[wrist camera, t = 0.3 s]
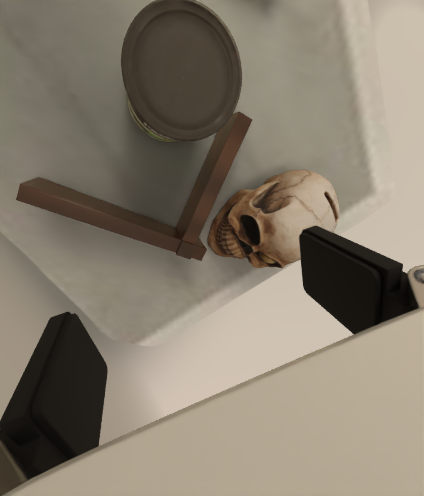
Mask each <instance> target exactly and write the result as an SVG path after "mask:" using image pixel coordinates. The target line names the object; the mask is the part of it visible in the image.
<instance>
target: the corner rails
mask: <svg viewBox="0 0 424 496" xmlns="http://www.w3.org/2000/svg"><path fill="white" fill-rule="evenodd" d="M251 122H252V119H250V118H249V117H247V116H245V115H244V114H242V113H241V112H237V113H234V114H232V115H231V117H230V119H229V120H228V121H227V123H226V124H225V125H224V126H223V127H222V128H221V129H220V130H218V132H217V134H216V137H215V139H214V141H213V143H212V146H211V148H210V150H209V153H208V155H207V157H206V160H205V162H204V164H203V167H202V169H201V171H200V174H199V176H198V178H197V180H196V183H195V185H194V187H193V190H192V192H191V194H190V197H189V199H188V201H187V204H186V206H185V208H184V211H183V213H182V215H181V217H180V220H179V222H178V224H177V227H176V228H175V227H172V226H169V225H167V224H164V223H161V222H158V221H156V220H153V219H150V218H148V217H145V216H142V215H140V214H137V213H134V212H132V211H129V210H126V209H123V208H121V207H118V206H115V205H113V204H110V203H107V202H105V201H102V200H99V199H96V198H94V197H91V196H88V195H86V194H83V193H80V192H78V191H75V190H72V189H70V188H67V187H64V186H61V185H59V184H56V183H53V182H51V181H48V180H45V179H43V178H40V177H38V178H35V179H32V180H29V181H26V182H23V183H21V184H20V187H19V190H18V194H17V198H16V200H18V201H21V202H24V203H27V204H30V205H33V206H36V207H39V208H42V209H45V210H48V211H51V212H54V213H57V214H60V215H63V216H66V217H69V218H73V219H76V220H79V221H82V222H85V223H88V224H91V225H94V226H97V227H100V228H103V229H106V230H109V231H112V232H115V233H118V234H121V235H124V236H127V237H130V238H133V239H136V240H139V241H142V242H145V243H148V244H151V245H154V246H157V247H160V248H163V249H166V250H170V251H173V252H176V255H178V256H181V257H184V258H187V259H191V258H194V259H197V260H200V261H202V258H203V256H204V254H205V252H206V250H207V249H206V247H205V246H204V245H203V243H202V242H201V240H200V239H199V235H200V232H201V230H202V228H203V226H204V224H205V222H206V219H207V217H208V215H209V213H210V211H211V209H212V206H213V204H214V202H215V200H216V198H217V195H218V193H219V191H220V189H221V187H222V185H223V182H224V180H225V178H226V176H227V174H228V172H229V169H230V167H231V165H232V163H233V161H234V158H235V156H236V154H237V152H238V150H239V148H240V145H241V143H242V141H243V139H244V137H245V135H246V132H247V130H248V128H249V126H250V124H251Z"/></svg>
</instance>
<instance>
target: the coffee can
mask: <svg viewBox="0 0 424 496" xmlns="http://www.w3.org/2000/svg"><path fill="white" fill-rule="evenodd" d="M121 67H122V76H123V82H124V86H125V89H126V92H127V94H126V95H127V103H128V107H129V110H130V113H131V115H132V117H133V119H134V121H135V122H136V124H137V125H138V126H139V128H140V129H141V130H142V131H144V132H145V133H146V134H147V135H149V136H150V137H152V138H154V139H157V140H160V141H164V142H174V141H197V140H201V139H204V138H207V137H209V136H211V135H213V134H214V133H216V132H217V131H218V130H220V129H221V128H222V127H223V126H224V125H225V124H226V123H227V121H228V120H229V119H230V117H231V115H232V114H233V112H234V110H235V108H236V106H237V103H238V100H239V96H240V92H241V86H242V68H241V61H240V56H239V52H238V49H237V46H236V43H235V41H234V39H233V36H232V35H231V33H230V31H229V29H228V28H227V26H226V25H225V24H224V22H223V21H222V20H221V19H220V18H219V17H218V15H217V14H215V13H214V12H213V11H212V10H211V9H209V8H208V7H207V6H205V5H203V4H202V3H200V2H198V1H196V0H156V1H153V2H152V3H150V4H149V5H147V6H146V7H145V8H143V9H142V10H141V11H140V12H139V13H138V14H137V16H136V17H135V18H134V20H133V21H132V23H131V24H130V26H129V28H128V31H127V33H126V36H125V38H124V42H123V47H122V54H121Z"/></svg>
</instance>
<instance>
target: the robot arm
mask: <svg viewBox="0 0 424 496" xmlns="http://www.w3.org/2000/svg"><path fill="white" fill-rule="evenodd" d="M299 245H300V256H301V267H302V278H303V287H304V290H305V291H306V293H307V294H308V295H309V296H311V297H312V298H313V299H314V300H315V301H316V302H318V303H319V304H320V305H321V306H322V307H323V308H324V309H326V310H327V311H328V312H329V313H330V314H331V315H332V316H334V317H335V318H336V319H337V320H338V321H339V322H340V323H342V324H343V325H344V326H345V327H346V328H347V329H348V330H350V331H351V332H352V333H353V334H354V335H352V336H350V337H348V338H345V339H343V340H340V341H338V342H336V343H333V344H331V345H329V346H326V347H324V348H322V349H320V350H317V351H315V352H313V353H310V354H308V355H305V356H303V357H301V358H298V359H296V360H294V361H291V362H289V363H287V364H284V365H282V366H280V367H278V368H275V369H273V370H271V371H268V372H266V373H264V374H261V375H259V376H257V377H254V378H252V379H250V380H248V381H245V382H243V383H241V384H238V385H236V386H234V387H232V388H229V389H227V390H225V391H222V392H220V393H218V394H216V395H213V396H211V397H209V398H206V399H204V400H202V401H200V402H197V403H195V404H193V405H191V406H188V407H186V408H184V409H182V410H179V411H177V412H175V413H173V414H170V415H168V416H166V417H163V418H161V419H159V420H156V421H154V422H152V423H150V424H148V425H145V426H143V427H141V428H138V429H137V430H134V431H132V432H130V433H127V434H125V435H123V436H120V437H118V438H116V439H114V440H112V441H110V442H107V443H105V444H103V445H101V446H99V438H100V429H101V422H102V413H103V405H104V397H105V388H106V380H107V365H106V363H105V361H104V359H103V357H102V356H101V354H100V352H99V351H98V349H97V347H96V346H95V344H94V342H93V341H92V339H91V337H90V336H89V334H88V332H87V331H86V329H85V327H84V326H83V324H82V322H81V321H80V319H79V317H78V316H77V315H76V314H75V313H74V314H71V313H70V312H65V313H63V314H59V315H57V316H54V317H51V318H50V320H49V321H48V324H47V326H46V328H45V330H44V332H43V334H42V336H41V338H40V340H39V342H38V344H37V346H36V348H35V350H34V353H33V355H32V356H31V359H30V361H29V363H28V365H27V367H26V369H25V371H24V373H23V375H22V377H21V379H20V382H19V383H18V385H17V387H16V389H15V391H14V394H13V396H12V398H11V400H10V402H9V404H8V406H7V408H6V410H5V412H4V414H3V416H2V418H1V420H0V496H424V265H421V266H416V267H414V268H412V269H410V270H409V271H408V274H407V273H405V272H403V271H402V268H403V264H401V263H399V262H397V261H394V260H392V259H390V258H388V257H386V256H384V255H381V254H379V253H377V252H375V251H372V250H370V249H368V248H366V247H364V246H361V245H359V244H357V243H354V242H352V241H350V240H348V239H346V238H343V237H341V236H339V235H337V234H335V233H332V232H330V231H328V230H326V229H324V228H321V227H319V226H316V225H315V226H312V227H309V228H306V229H304V230H302V233H301V234H300V235H299Z"/></svg>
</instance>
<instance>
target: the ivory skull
mask: <svg viewBox="0 0 424 496" xmlns="http://www.w3.org/2000/svg"><path fill="white" fill-rule="evenodd" d="M339 213H340V211H339V204H338V200H337V197H336V194H335V191H334V189H333V187H332V185H331V184H330V182H329V181H328V180H327V179H325V178H324V177H323V176H321V175H319V174H316V173H314V172H311V171H307V170H293V171H288V172H285V173H282V174H280V175H277V176H273V177H271V178H269V179H267V180H266V181H265V183H264V185H262V186H261V187H259V188H257V189H255V190H248V189H242V190H240V191H238V192H237V194H235V195H234V196H233V197H232V198H231V199H230V200H229V201H228V202H227V203H226V205H225V206H224V207H223V208H222V209H221V211H220V212H219V214H218V215H217V217H216V218H215V219H214V221H213V223H212V226H211V229H210V232H209V237H208V245H209V246H210V247H211V249H212V250H213V251H214V252H215V254H217V255H219V256H223V257H234V258H239V259H242V258H245V257H247V258H248V260H249V262H250V263H251V264H252V265H253V267H255V268H263V267H267V266H268V267H279V268H283V267H284V266H285V265H287V264H289V263H292V262H295V261H298V260H301V256H300V245H299V235H300V234H301V233H302V230H304V229H306V228H309V227H312V226H315V225H316V226H319V227H321V228H324V229H326V230H328V231H330V232H332V233H333V232H334V230H335V228H336V225H337V223H338V220H339Z"/></svg>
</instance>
